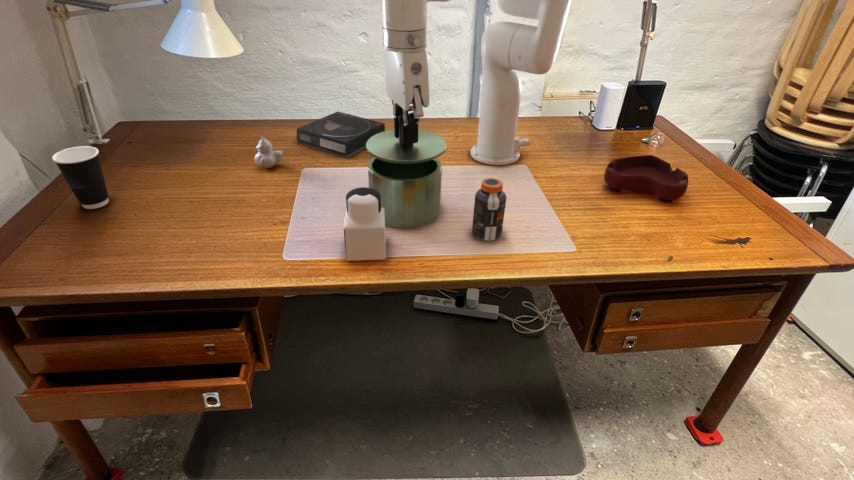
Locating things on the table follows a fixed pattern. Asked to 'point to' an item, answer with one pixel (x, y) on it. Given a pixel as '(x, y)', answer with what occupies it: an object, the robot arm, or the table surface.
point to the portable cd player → (339, 133)
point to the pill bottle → (489, 210)
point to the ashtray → (646, 177)
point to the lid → (405, 146)
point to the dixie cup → (83, 175)
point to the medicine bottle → (364, 225)
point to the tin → (407, 191)
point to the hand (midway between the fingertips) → (406, 139)
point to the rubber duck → (267, 154)
